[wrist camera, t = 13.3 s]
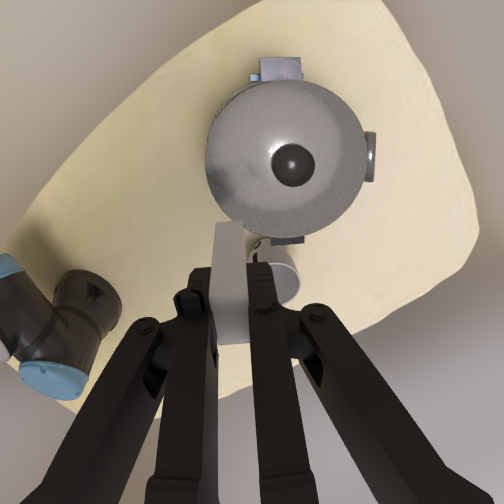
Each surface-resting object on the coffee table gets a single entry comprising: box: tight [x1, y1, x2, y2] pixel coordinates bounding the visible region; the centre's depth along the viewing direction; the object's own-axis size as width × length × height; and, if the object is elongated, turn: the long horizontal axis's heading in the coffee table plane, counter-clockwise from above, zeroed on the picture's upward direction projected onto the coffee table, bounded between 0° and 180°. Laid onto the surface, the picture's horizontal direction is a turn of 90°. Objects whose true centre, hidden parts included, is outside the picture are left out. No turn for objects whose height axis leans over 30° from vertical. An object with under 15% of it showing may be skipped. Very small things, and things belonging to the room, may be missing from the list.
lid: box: [205, 80, 376, 238], centre depth 32 cm, size 20×18×4 cm
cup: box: [247, 238, 301, 305], centre depth 49 cm, size 8×8×10 cm
